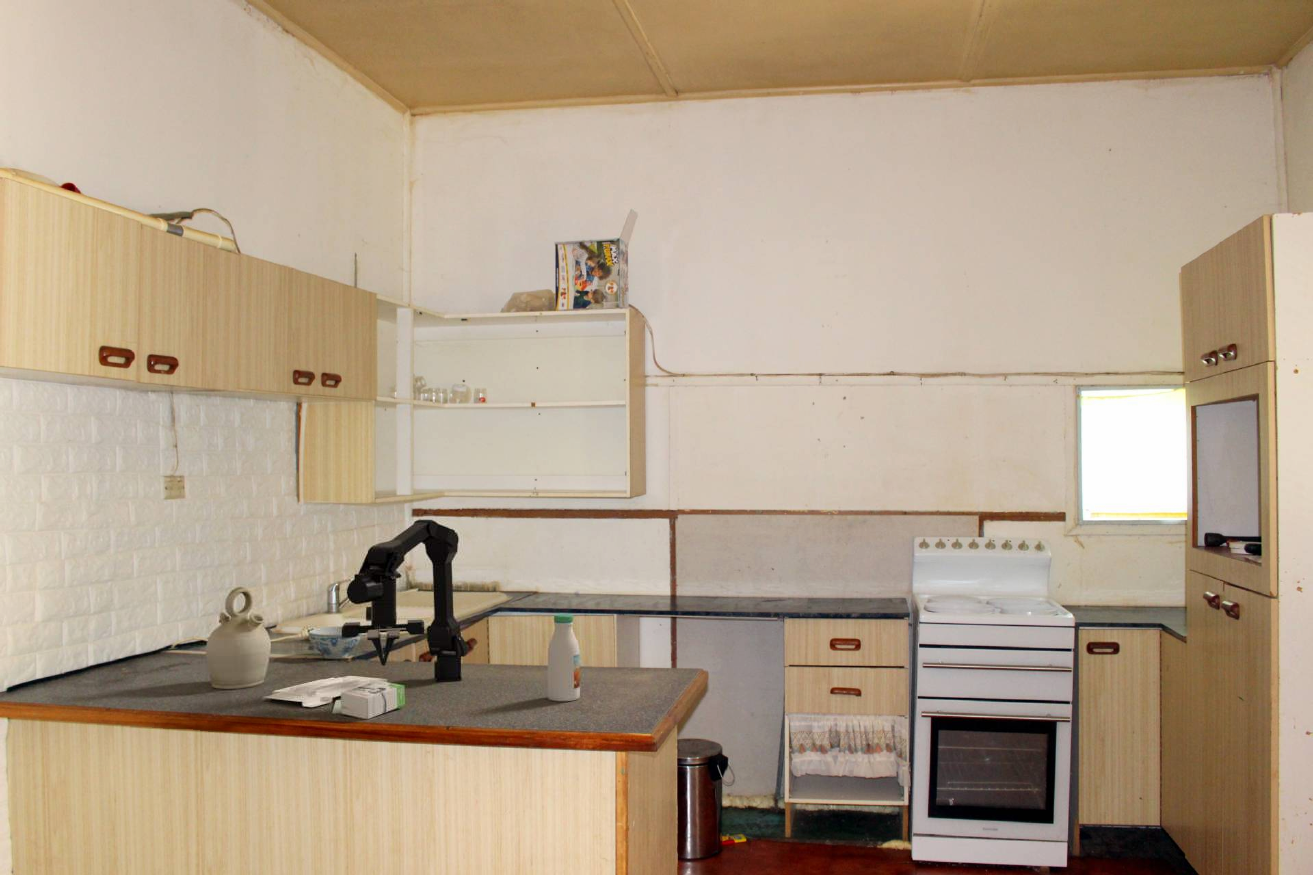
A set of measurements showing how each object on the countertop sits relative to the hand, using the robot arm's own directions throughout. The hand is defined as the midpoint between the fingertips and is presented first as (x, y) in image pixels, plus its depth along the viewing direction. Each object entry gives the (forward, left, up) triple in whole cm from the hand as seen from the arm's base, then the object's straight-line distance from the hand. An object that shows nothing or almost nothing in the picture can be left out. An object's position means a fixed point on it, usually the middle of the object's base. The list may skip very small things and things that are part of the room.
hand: (383, 665), depth 233 cm
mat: (+5, +1, -9) cm, 10 cm away
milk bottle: (-42, +6, -9) cm, 43 cm away
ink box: (-2, +3, -6) cm, 7 cm away
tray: (+14, -16, -9) cm, 23 cm away
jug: (+37, -32, -9) cm, 50 cm away
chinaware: (+15, -66, -9) cm, 68 cm away
